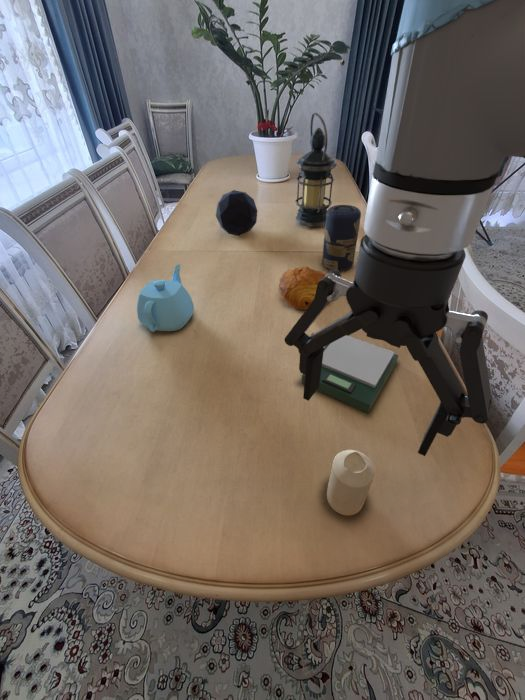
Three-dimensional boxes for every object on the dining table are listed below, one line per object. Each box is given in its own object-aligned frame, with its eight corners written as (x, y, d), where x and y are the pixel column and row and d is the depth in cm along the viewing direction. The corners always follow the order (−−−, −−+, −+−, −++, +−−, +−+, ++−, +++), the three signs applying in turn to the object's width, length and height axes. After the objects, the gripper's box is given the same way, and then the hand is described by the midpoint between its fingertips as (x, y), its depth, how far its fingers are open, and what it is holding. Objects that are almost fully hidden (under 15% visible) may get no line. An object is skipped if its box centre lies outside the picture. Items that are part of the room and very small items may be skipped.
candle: (331, 475, 55) (338, 438, 49) (366, 487, 54) (379, 451, 47) (322, 508, 51) (329, 473, 45) (360, 521, 50) (373, 487, 43)
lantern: (335, 229, 128) (349, 114, 104) (300, 233, 125) (307, 117, 102) (321, 215, 138) (331, 108, 115) (289, 218, 136) (293, 110, 113)
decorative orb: (211, 210, 130) (211, 183, 115) (250, 206, 132) (255, 178, 118) (219, 245, 127) (220, 221, 112) (259, 239, 130) (265, 216, 115)
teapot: (201, 264, 86) (168, 304, 73) (206, 301, 94) (177, 343, 81) (155, 259, 89) (116, 297, 76) (164, 295, 96) (129, 335, 83)
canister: (345, 276, 102) (355, 214, 90) (316, 268, 106) (321, 208, 94) (357, 262, 108) (367, 202, 96) (328, 255, 112) (335, 197, 100)
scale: (396, 363, 74) (399, 351, 72) (368, 413, 64) (371, 402, 62) (335, 340, 80) (337, 329, 78) (301, 383, 70) (302, 372, 68)
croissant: (279, 317, 91) (279, 294, 85) (278, 280, 101) (277, 256, 95) (335, 316, 90) (339, 292, 84) (328, 278, 100) (331, 254, 94)
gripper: (248, 222, 29) (256, 392, 43) (633, 318, 18) (476, 503, 32) (293, 196, 34) (287, 358, 48) (622, 261, 23) (489, 444, 37)
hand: (363, 417), depth 40 cm, fingers open, 13 cm apart
